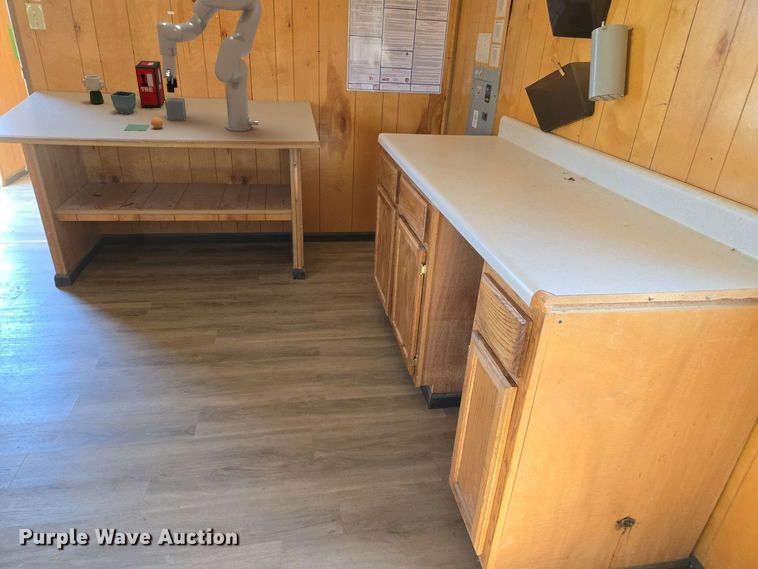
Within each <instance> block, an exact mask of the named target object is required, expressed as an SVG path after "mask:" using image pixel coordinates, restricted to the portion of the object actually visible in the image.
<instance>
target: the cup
mask: <svg viewBox="0 0 758 569" xmlns="http://www.w3.org/2000/svg"><path fill="white" fill-rule="evenodd" d="M164 104H165V112H166V117H167V118H166V119H167V121H181V122H182V121H186V117H187V112H186V103H185V98H184V97H167V98H165V102H164Z"/></svg>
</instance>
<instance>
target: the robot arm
mask: <svg viewBox="0 0 758 569" xmlns="http://www.w3.org/2000/svg"><path fill="white" fill-rule="evenodd" d="M262 8H263V7H262V3H261V0H195V1H194V3H192V10H193V15H192V16H191V17H190V18H189V19H188V20H187V21H186V22H181V23H180V22H179V23H175V24H174V23H173V22H171V21H165V20H164V21H163V20H162V21H158V22H157V23H156V30H157V39H158V48H159V55H160V56H161V57H162V58H161V61H162V62H161V63H162V65H161V66H162V78H164V79H166V80H165V81H166V92H167V93H169V94H170V93H172V94H175V91H176V90H175V89H178V88H179V87H178V86H179V85H178V80H177V79H178V78H177V74H178V71H177V70H178V69H177V60H176V57H177V56H178V46H177V44H178V43H185V42H190V41H193V40H196V39H197V38H198V37H199V36H200V35H201V34H202V33H203V32H204V31H205V29H206V28H207V26H208V24H209V21H210V20H211V19H212V17H214V15H216V14H217V13H218V11H220V10H226V11H232V12H237V11H241V14H240V16H239V17H238V20H237V23H236V26H235V30H234V33H233V34H230V35H227V36H225V37H224V38H223V39H222V40H221V43H220V45H219V48H218V52H217V57H216V61H215V63H214V64H215V65H214V74H215V77H216V78H217V80H218V81H220V82H222V83H224V84H225V97H226V98H225V99H226V108H227V109H226V111H227V123H226V124H225V125H224V128H225V129H226V130H228V131H233V132H247V130H248V131H250V130H252V129H253V126H259V121H258V120H256V119H251V118H250V116H249V105H248V104H249V103H248V102H249V99H248V75H249V68H248V63H247V62H246V61H245V60H244V59H243V58H244V57H248V55H250V54H251V52H252V48H253V46H254V41H255V39H256V35H257V32H258V29H259V24H260V21H261V17H262V12H263V10H262Z"/></svg>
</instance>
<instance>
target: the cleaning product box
mask: <svg viewBox="0 0 758 569" xmlns="http://www.w3.org/2000/svg"><path fill="white" fill-rule="evenodd" d="M161 66H162V65H161V61H155V60H141V61H139V63H137V64H136V65H135V66H134V68H135V75H136V82H137V88H138V94H139V99H140V100H139V101H140V107H141V109H148V108H160V109H161V108H162V107H163V105H164V104H165V102H164V101H166V95H165V89H164V81H163V72H162V68H161ZM163 103H164V104H163ZM161 106H162V107H161Z"/></svg>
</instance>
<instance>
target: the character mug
mask: <svg viewBox="0 0 758 569" xmlns="http://www.w3.org/2000/svg"><path fill="white" fill-rule="evenodd" d="M82 85H83V87H86V89H87V90H88V91H89V100H90V103H91V104H102V103H104V102H105V100H104V96H103V93H102V92H101V91H102V89H105V88H106V84H105V81H104V80H101V76H99V75H96V74H88V75H85V76H84V78H83V79H82Z"/></svg>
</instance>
